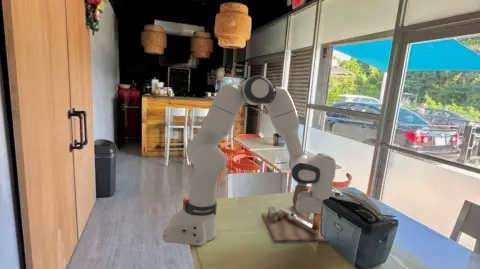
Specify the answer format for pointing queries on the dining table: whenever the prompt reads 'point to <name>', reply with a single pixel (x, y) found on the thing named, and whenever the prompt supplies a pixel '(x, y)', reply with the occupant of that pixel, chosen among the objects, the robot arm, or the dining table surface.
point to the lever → (310, 227)
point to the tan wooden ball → (280, 214)
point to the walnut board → (288, 228)
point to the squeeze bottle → (298, 189)
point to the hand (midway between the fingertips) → (317, 221)
